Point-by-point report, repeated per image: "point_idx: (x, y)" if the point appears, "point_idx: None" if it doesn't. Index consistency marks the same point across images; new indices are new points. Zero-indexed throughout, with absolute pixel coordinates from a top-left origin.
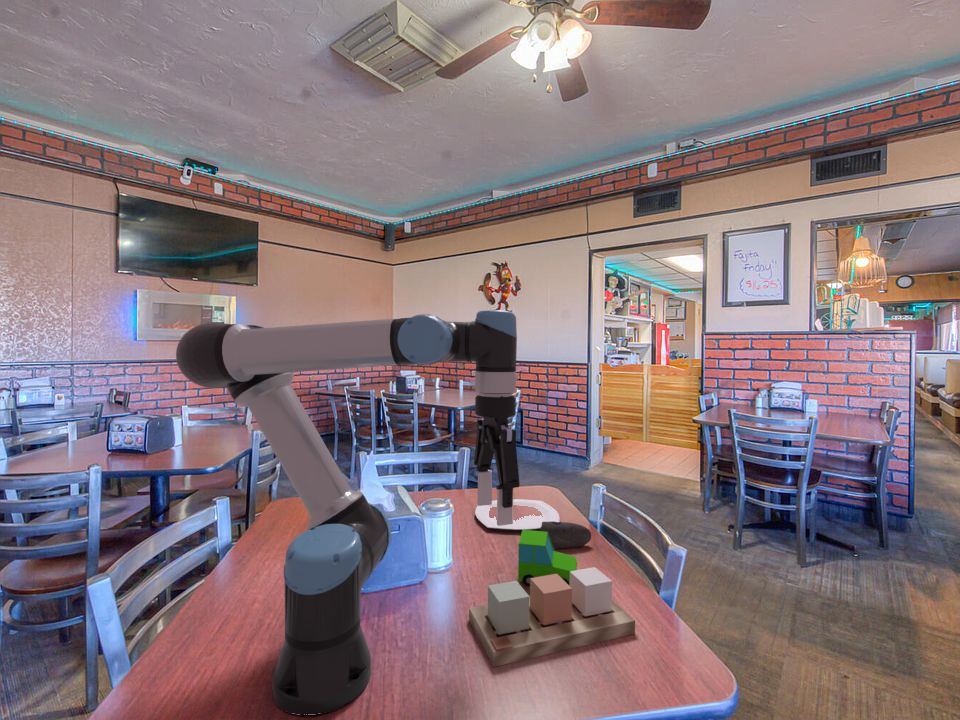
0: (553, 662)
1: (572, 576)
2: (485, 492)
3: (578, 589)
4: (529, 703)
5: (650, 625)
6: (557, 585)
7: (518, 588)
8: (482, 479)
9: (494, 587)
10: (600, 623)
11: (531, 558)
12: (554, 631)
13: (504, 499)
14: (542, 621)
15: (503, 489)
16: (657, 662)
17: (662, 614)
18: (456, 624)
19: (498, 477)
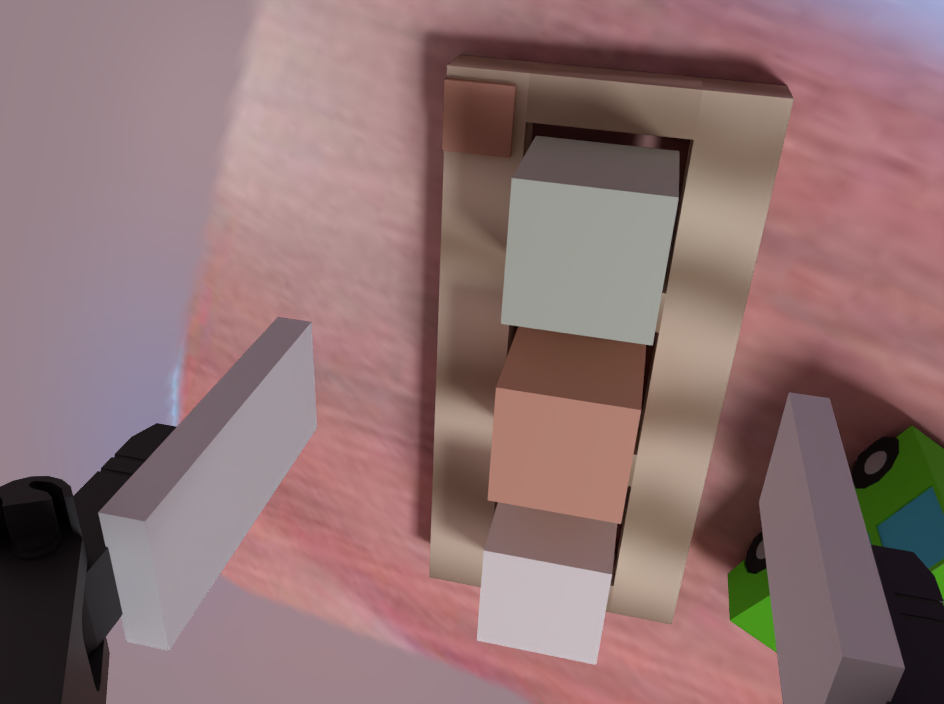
0: (409, 261)
1: (590, 562)
2: (784, 531)
3: (544, 532)
4: (271, 89)
5: (455, 606)
6: (532, 469)
7: (581, 316)
8: (816, 617)
9: (644, 219)
10: (455, 488)
11: (887, 538)
12: (474, 336)
13: (115, 472)
14: (527, 328)
15: (83, 539)
16: (316, 506)
17: (486, 666)
18: (789, 14)
19: (65, 617)
